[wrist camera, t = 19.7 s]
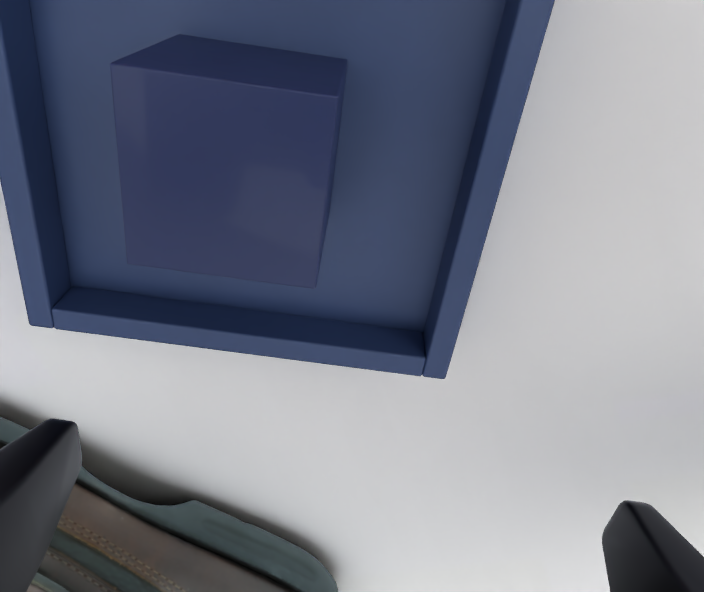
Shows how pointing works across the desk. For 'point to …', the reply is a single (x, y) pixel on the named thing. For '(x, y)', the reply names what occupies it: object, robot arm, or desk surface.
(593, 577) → the desk surface
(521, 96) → the blue tray
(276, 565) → the loafer
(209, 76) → the blue block
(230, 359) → the desk surface
